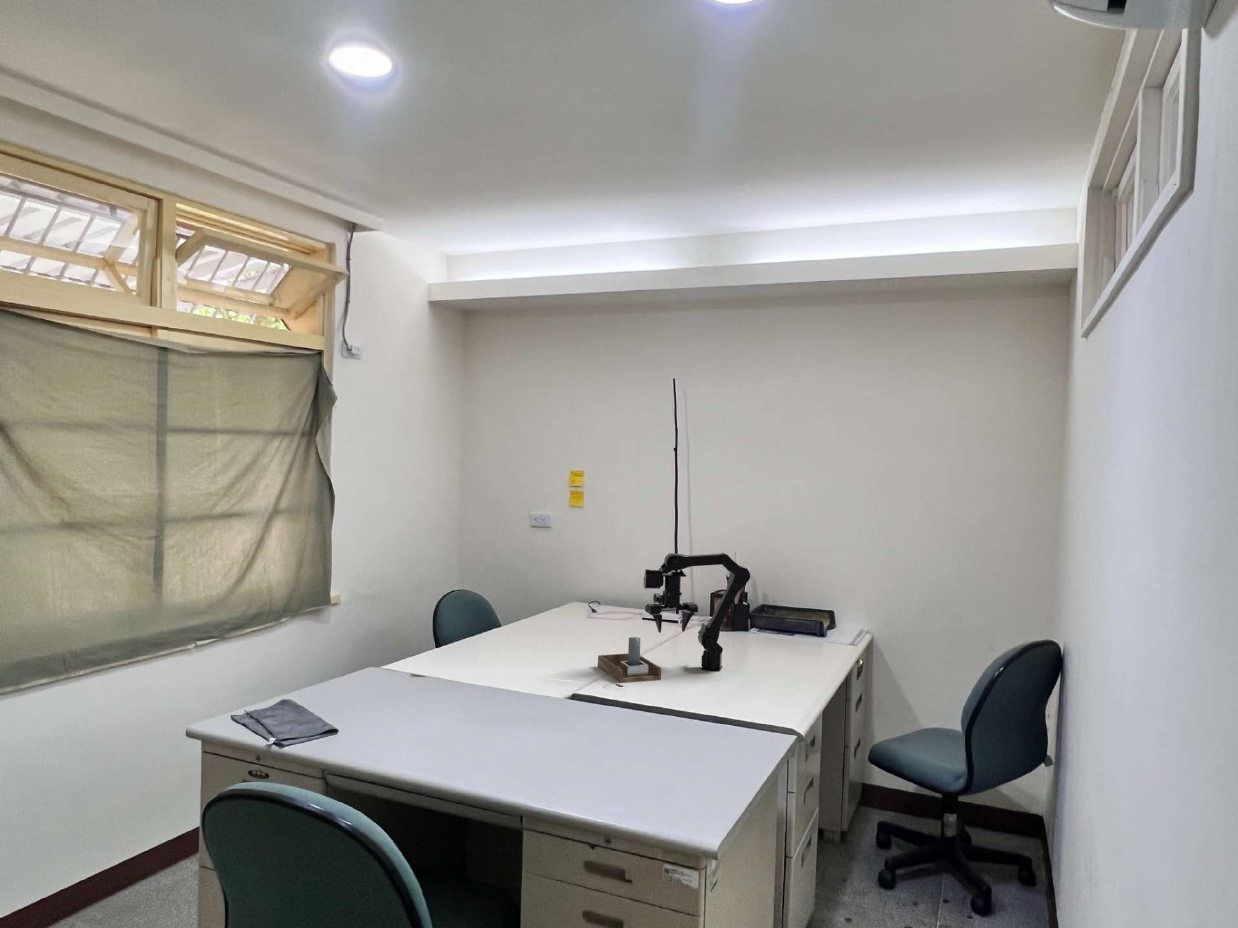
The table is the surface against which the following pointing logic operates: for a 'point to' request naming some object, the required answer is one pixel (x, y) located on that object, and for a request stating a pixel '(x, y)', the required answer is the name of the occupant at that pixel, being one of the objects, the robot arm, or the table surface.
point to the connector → (634, 651)
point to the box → (613, 669)
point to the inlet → (634, 669)
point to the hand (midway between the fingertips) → (671, 631)
